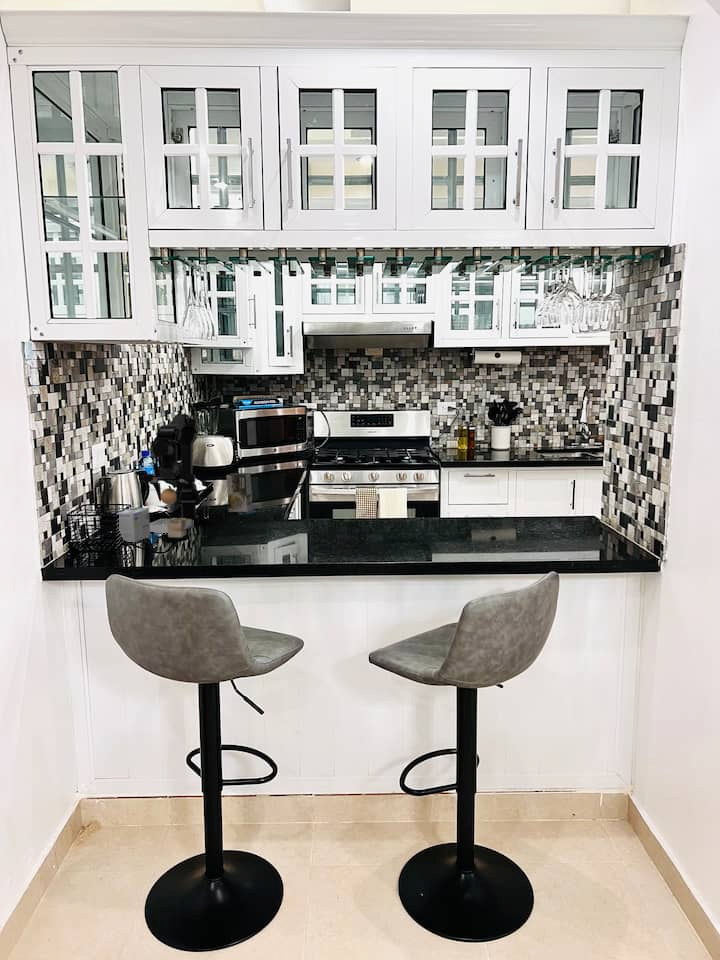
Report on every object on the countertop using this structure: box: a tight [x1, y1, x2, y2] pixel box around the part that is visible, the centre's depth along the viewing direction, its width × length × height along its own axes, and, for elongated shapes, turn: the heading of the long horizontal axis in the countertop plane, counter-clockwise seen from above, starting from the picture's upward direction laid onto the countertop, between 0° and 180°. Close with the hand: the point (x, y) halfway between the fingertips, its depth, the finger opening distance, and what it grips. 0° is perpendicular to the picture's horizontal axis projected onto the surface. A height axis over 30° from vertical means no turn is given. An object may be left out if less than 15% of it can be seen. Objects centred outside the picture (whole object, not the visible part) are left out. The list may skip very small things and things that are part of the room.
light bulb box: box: [116, 507, 151, 544], centre depth 252 cm, size 11×7×11 cm, turn 166°
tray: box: [150, 518, 193, 533], centre depth 268 cm, size 12×12×3 cm
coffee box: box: [226, 472, 254, 513], centre depth 305 cm, size 9×6×16 cm
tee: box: [167, 517, 187, 538], centre depth 257 cm, size 5×5×6 cm
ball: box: [161, 488, 177, 505], centre depth 264 cm, size 6×6×6 cm
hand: (168, 501), depth 264 cm, fingers closed on ball, 6 cm apart
